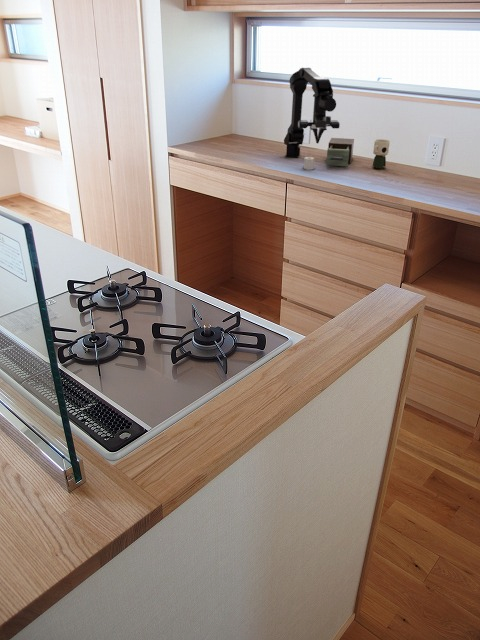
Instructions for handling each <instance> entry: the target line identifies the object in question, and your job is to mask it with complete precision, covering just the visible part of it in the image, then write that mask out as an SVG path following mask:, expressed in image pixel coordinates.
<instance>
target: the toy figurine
mask: <svg viewBox="0 0 480 640" xmlns="http://www.w3.org/2000/svg"><path fill="white" fill-rule="evenodd" d="M390 143H391V141H390V140H389V139H388V140H387V139H384V138H383V139H375V140H374V143H373V152H372V153H373V155H375V156H374V158H373V162H372V168H375V169H380V170H381V169H385V168H386V167H387V166H386V165H387V159H386V158H387V157H386V156H387V155H389V149H390Z"/></svg>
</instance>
